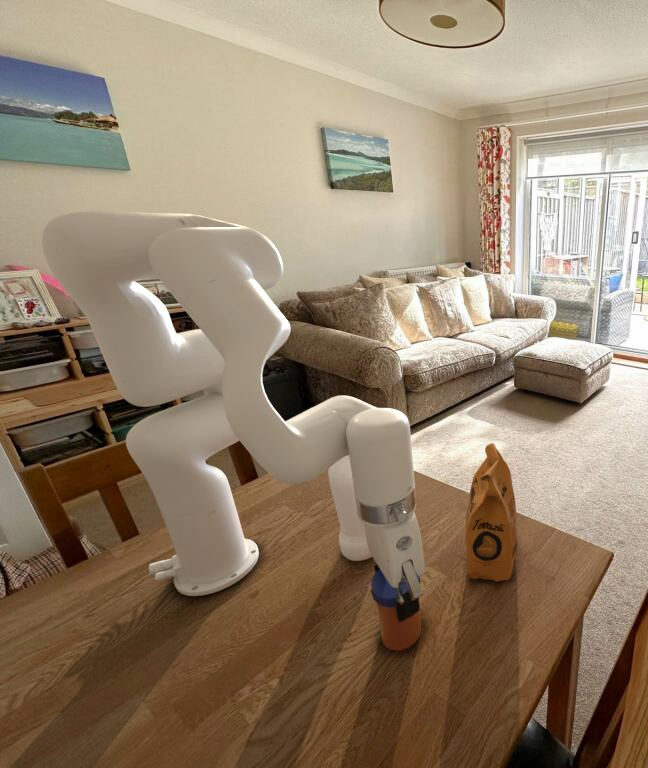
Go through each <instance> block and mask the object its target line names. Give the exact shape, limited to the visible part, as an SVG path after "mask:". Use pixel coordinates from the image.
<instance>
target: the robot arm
mask: <svg viewBox="0 0 648 768" xmlns="http://www.w3.org/2000/svg"><path fill="white" fill-rule="evenodd" d="M41 234H42V235H41V244H42V245H41V246H42V251H43V255H44V258H45V261H46V263H47V266H48V268H49V269H50V271H51V273H52V275H53V276H54V277H55V279H56V280H57V282H58V283H59V285H60V286H61V287H62V288H63V290H64V291H65V292H66V293H67V295H68V296H69V297H70V298H71V299H72V300H73V301H74V303H75V304H76V305H77V307H78V308H79V309H80V311H81V312H82V313H83V315H84V316H85V319H86V320H87V322H88V324H89V326H90V328H91V331H92V333H93V337H94V340H95V341H96V343H97V345H98V348H99V350H100V353H101V355H102V357H103V360H104V362H105V364H106V366H107V369H108V371H109V373H110V376H111V378H112V380H113V382H114V385H115V387H116V388H117V390H118V392H119V394H120V395H121V396H122V398H123V399H124V400H125V401H126V402H128V403H129V404H131V405H133V406H136V407H141V408H142V407H143V408H147V407H148V408H149V407H155V406H160V405H163V404H166V403H169V402H172V401H176V400H178V399H181V398H184V397H187V396H189V395H192V394H195V393H198V392H201V391H203V395H201V396H199V397H196V398H194V399H191V400H188V401H185V402H181V403H179V404H177V405H174V406H171V407H168V408H166V409H164V410H163V409H162V410H159V411H158V412H155V413H153V414H150V415H148V416H147V417H145V418H143V419H141V420H139V421H138V422H137V423H135V424H134V425H133V426H131V428H130V429H129V431H127V434H126V437H125V446H126V449H127V451H128V454H129V455H130V457H131V459H132V460H133V462H134V463H135V465H136V466H137V467H138V469H139V470H140V471H141V473H142V475H143V476H144V478H145V480H146V481H147V483H148V485H149V487H150V489H151V492H152V495H153V496H154V499H155V501H156V503H157V506H158V510H159V511H160V513H161V516H162V519H163V522H164V525H165V527H166V531H167V532H168V535H169V538H170V541H171V543H172V546H173V548H174V552H175V554H174V555H172V557H171V558H168V559H163V560H159V561H156V562H152V563H149V565H148V572H149V575H150V576H154V580H155V582H156V583H158V582H160V581H164V580H167V579H169V578H173V584H174V588H175V589H176V590H177V592H178V593H180V594H181V595H184V596H188V597H199V596H200V597H201V596H205V595H211V594H214V593H217V592H220V591H222V590H225V589H227V588H229V587H230V586H232V585H234V584H236V583H238V582H239V581H240V580H241V579H243V578H244V577H245V576H247V575H248V574H249V573H250V572H251V571H252V570H253V568H254V567H255V565H256V564H257V562H258V559H259V556H260V555H259V554H260V552H259V547H258V545H257V544H256V542H254V541H253V540H252V539H249V538H245V535H244V533H243V532H244V531H243V528H242V525H241V521H240V518H239V517H240V516H239V514H238V510H237V506H236V503H235V499H234V497H233V493H232V489H231V486H230V483H229V480H228V477H227V476H226V474H225V473H224V472H223V471H222V470H221V469H220V468H217V467H216V466H213V465H210V464H208V463H207V462H206V461H207V460H208V459H209V458H210V457H212V456H214V455H216V454H217V453H219V452H220V451H222V450H224V449H226V448H228V447H231V446H232V445H234V444H236V443H238V442H240V443H241V444H242V445H243V447H244V448H245V450H247V452H248V453H249V454H250V455H251V457H253V459H254V460H255V461H256V462H257V463H258V464H259V465H260V467H262V469H263V470H264V471H266V473H268V474H269V475H270V476H271V477H273V478H274V479H276V480H277V481H278V482H281V483H283V484H286V485H290V486H291V485H292V486H299V485H303V484H307V483H308V482H311V481H313V480H314V479H316V478H317V477H319V476H320V475H322V474H323V473H324V472H326V471H328V469H329V468H330V467H331V466H332V465H334V464H335V463H336V462H338V461H339V460H340V459H342V458H343V457H345V456H347V455H349V458H350V465H351V472H352V478H353V485H354V492H355V499H356V505H357V512H358V517H359V519H360V521H361V522H362V523H363V524H364V527H365V535H366V541H367V545H368V548H369V551H370V553H371V555H372V557H371V558H372V560H373V563H374V564H375V565H373V568H374V574H375V573H376V572H377V571H378V570H379V569H380V570H381V571H382V573H383V575H384V576H385V578H386V579H387V581H388V582H389V584H390V585H391V586H392V587H394V588H395V591H396V595H397V599H396V600H395V604H396V613H397V619H398V621H399V622H402V621H404V620H405V619H407V618H410V617H411V616H413V615H414V614H415V613H417V612H418V611H419V610H420V611H421V608H420V598H421V597H422V596H424V592H423V589H422V585H421V583H420V584H419V581H418V579H417V576H416V573H417V574H418V576H419V577H422V575H425V572H426V563H425V555H424V548H423V541H422V536H421V530H420V527H419V523H418V522H419V521H418V520H417V516H416V513H415V511H416V509H417V497H416V487H415V486H416V484H415V474H414V473H415V471H414V461H413V450H412V447H413V446H412V437H411V436H412V435H411V426H410V421H409V418H408V417H407V415H406V414H404V412H402V411H400V410H397V409H395V408H390V407H377V406H374V405H372V404H370V403H367V402H365V401H362V400H361V399H358V398H356V397H353V396H350V395H336V396H332V397H330V398H328V399H326V400H324V401H322V402H320V403H319V404H316V405H315V406H313V407H310V408H309V409H306V410H305V411H303V412H301V413H298V414H297V415H295V416H293V417H291V418H289V419H287V420H284V418H283V417H282V416H281V415H280V413H279V412H278V411H277V410H276V409H275V407H274V406H273V404H272V403H271V401H270V400H269V398H268V395H267V393H266V391H265V387H264V383H263V373H264V368H265V365H266V362H267V360H269V359H270V357H272V356H273V355H274V354H275V353H276V352H278V350H279V349H280V348H282V346H283V345H284V344H285V343H286V342H287V340H288V339H289V337H290V334H291V331H292V329H291V324H290V322H289V320H288V319H287V318H286V316H285V315H284V314H283V313H282V312H281V311H280V309H279V308H278V307H277V305H276V304H275V303H274V302H273V300H272V299H271V297H269V295H268V294H267V292H265V290H268V289H271V288H273V287H275V286H277V285H278V283H280V282H281V279H282V278H283V275H284V274H283V273H284V265H283V259H282V257H281V254H280V252H279V250H278V249H277V248H276V246H275V244H274V243H273V242H272V241H271V240H270V239H269V238H268V237H267V236H266V235H264V234H263V233H261V232H260V231H258V230H256V229H254V228H252V227H248V226H244V225H241V224H236V223H232V222H228V221H223V220H220V219H215V218H211V217H207V216H203V215H198V214H192V213H177V212H148V211H146V212H145V211H128V210H127V211H125V210H124V211H122V210H90V211H87V210H86V211H77V212H69V213H64V214H61V215H59V216H55V217H53V218H52V219H51V220H49V221H48V222H47V223H46V224H45V226H44V227H43V230H42V233H41ZM145 280H147V281H148V280H160V282H161V283H162V284H163V286H164V287H165V288H166V289H167V291H169V293H170V294H171V296H173V298H174V299H175V300H176V302H178V304H179V305H180V306H181V307H182V309H183V310H184V311H185V312H186V314H187V315H188V316H189V318H191V320H192V321H193V323H195V325H196V326H197V327H198V328H196V329H191V330H187V331H182V332H176V329H175V327H174V324H173V322H172V318H171V316H170V312H169V311H168V309H167V306H166V305H165V304H164V303H163V302H162V301H161V299H159V298H158V297H157V296H156V295H155V294H154V293H152V292H151V291H150V290H148V288H146V287H145V286H143V285H141V284H140V283H138V281H145ZM415 572H416V573H415ZM402 573H403V574H402ZM402 575H403V576H402ZM404 583H407V586H408V590H407V591H405V592H403V593H402V590H401V586H400V585H402V584H404Z"/></svg>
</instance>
